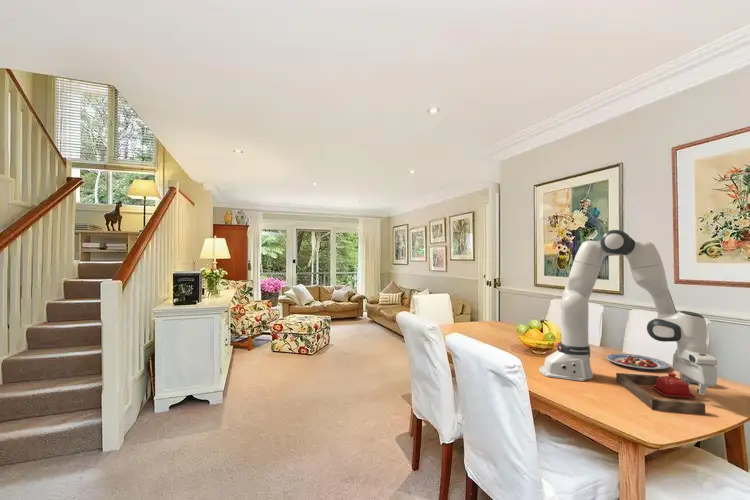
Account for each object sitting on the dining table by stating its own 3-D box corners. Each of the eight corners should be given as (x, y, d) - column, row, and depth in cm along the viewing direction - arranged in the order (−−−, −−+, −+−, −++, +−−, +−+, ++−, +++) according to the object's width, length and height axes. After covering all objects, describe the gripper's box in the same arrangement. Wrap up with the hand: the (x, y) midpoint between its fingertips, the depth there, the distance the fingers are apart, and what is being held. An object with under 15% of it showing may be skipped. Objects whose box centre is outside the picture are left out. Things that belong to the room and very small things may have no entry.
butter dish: (648, 387, 146) (648, 367, 146) (681, 390, 143) (680, 369, 143) (662, 398, 135) (662, 376, 135) (698, 401, 132) (698, 379, 132)
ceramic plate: (620, 355, 195) (620, 349, 195) (678, 367, 173) (678, 361, 173) (596, 362, 181) (596, 356, 182) (655, 376, 159) (655, 370, 159)
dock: (652, 409, 125) (652, 399, 125) (616, 380, 154) (616, 372, 154) (705, 414, 121) (705, 404, 121) (658, 383, 150) (658, 375, 150)
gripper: (667, 346, 146) (668, 379, 145) (699, 360, 126) (700, 398, 125) (685, 347, 144) (685, 380, 144) (720, 361, 124) (722, 400, 124)
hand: (693, 389), depth 134 cm, fingers open, 8 cm apart
